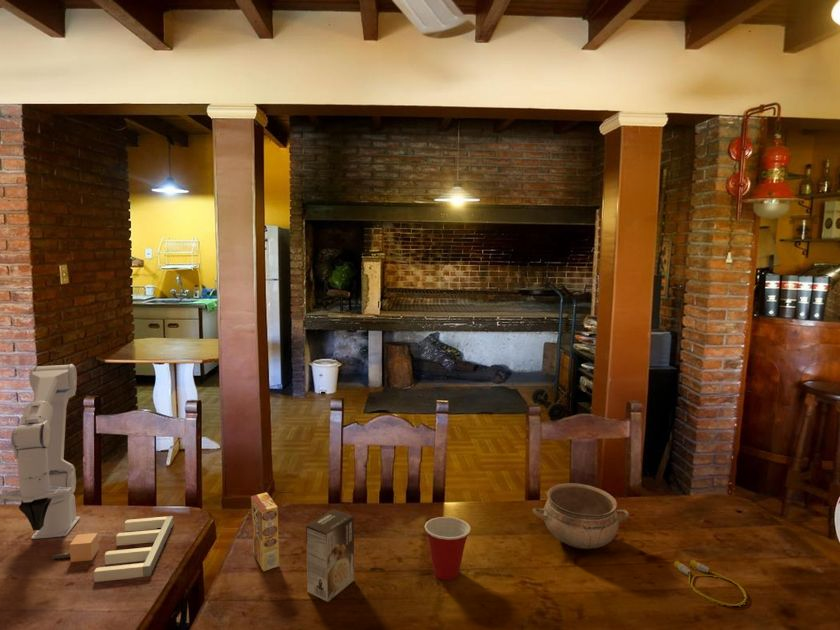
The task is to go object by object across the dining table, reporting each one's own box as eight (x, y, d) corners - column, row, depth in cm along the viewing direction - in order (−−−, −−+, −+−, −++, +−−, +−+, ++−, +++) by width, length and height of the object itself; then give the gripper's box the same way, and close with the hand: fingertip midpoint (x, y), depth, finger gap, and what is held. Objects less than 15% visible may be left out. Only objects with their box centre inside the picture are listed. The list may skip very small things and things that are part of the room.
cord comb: (126, 528, 141) (126, 519, 140) (173, 524, 143) (172, 515, 143) (94, 582, 119) (93, 571, 118) (150, 576, 121) (149, 566, 121)
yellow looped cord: (721, 567, 130) (722, 559, 130) (758, 611, 114) (759, 602, 114) (670, 564, 131) (671, 557, 130) (700, 607, 115) (701, 599, 115)
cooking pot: (539, 562, 129) (541, 515, 128) (524, 522, 148) (526, 481, 147) (640, 564, 129) (644, 518, 128) (613, 524, 148) (616, 483, 147)
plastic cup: (467, 559, 130) (468, 514, 128) (470, 588, 119) (472, 538, 118) (423, 558, 130) (424, 512, 128) (423, 586, 119) (424, 537, 118)
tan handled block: (56, 553, 129) (55, 536, 128) (98, 549, 131) (97, 532, 130) (48, 564, 125) (47, 546, 124) (91, 560, 127) (90, 542, 126)
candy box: (280, 566, 126) (279, 506, 123) (262, 572, 123) (261, 511, 121) (268, 548, 133) (267, 491, 131) (251, 553, 130) (250, 495, 128)
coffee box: (333, 571, 124) (333, 507, 122) (354, 580, 121) (355, 515, 119) (306, 592, 117) (305, 524, 114) (327, 603, 113) (327, 533, 111)
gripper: (-12, 483, 118) (-7, 540, 120) (61, 478, 121) (65, 534, 123) (5, 470, 125) (10, 524, 126) (74, 466, 128) (77, 518, 130)
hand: (38, 528), depth 125 cm, fingers closed
